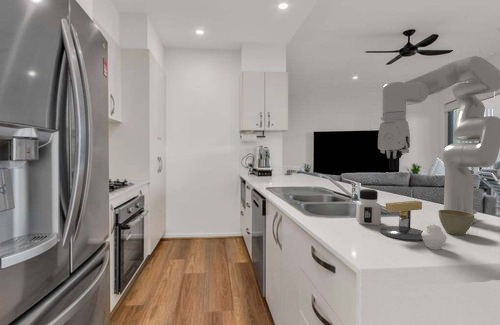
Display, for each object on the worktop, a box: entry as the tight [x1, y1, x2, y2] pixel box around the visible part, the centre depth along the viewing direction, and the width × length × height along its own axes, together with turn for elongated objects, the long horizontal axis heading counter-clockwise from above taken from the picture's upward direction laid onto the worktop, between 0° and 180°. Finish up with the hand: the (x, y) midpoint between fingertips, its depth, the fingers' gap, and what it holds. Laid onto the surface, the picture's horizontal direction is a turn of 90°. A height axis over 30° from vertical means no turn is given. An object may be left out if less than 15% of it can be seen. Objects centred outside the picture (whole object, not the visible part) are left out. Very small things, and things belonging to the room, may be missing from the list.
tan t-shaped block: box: [385, 200, 423, 219], centre depth 93 cm, size 2×14×5 cm, turn 112°
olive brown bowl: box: [437, 209, 475, 236], centre depth 95 cm, size 10×10×7 cm
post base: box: [380, 210, 424, 242], centre depth 93 cm, size 14×14×10 cm
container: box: [355, 188, 382, 226], centre depth 110 cm, size 8×8×13 cm
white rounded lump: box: [422, 224, 447, 251], centre depth 80 cm, size 6×6×7 cm
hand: (394, 169), depth 100 cm, fingers closed
